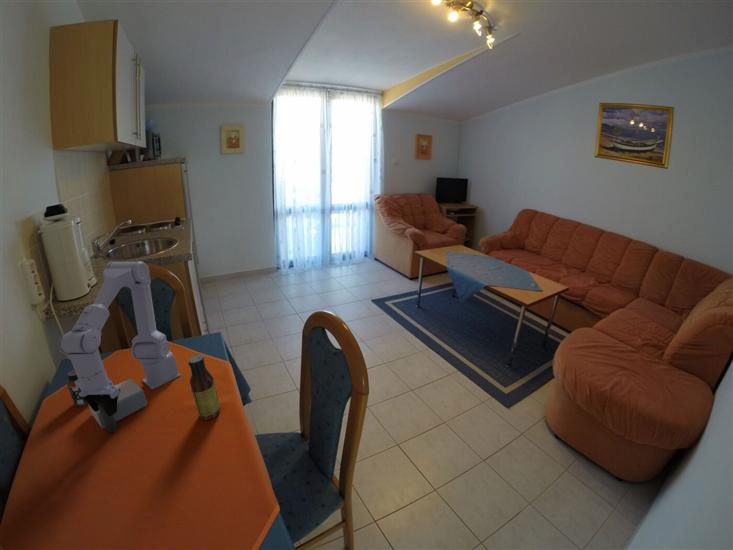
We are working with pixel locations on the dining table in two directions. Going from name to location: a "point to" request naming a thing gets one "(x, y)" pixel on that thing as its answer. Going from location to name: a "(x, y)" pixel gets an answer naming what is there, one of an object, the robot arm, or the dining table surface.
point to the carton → (121, 394)
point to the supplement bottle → (75, 389)
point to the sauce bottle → (203, 389)
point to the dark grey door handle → (122, 410)
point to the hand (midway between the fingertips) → (105, 411)
